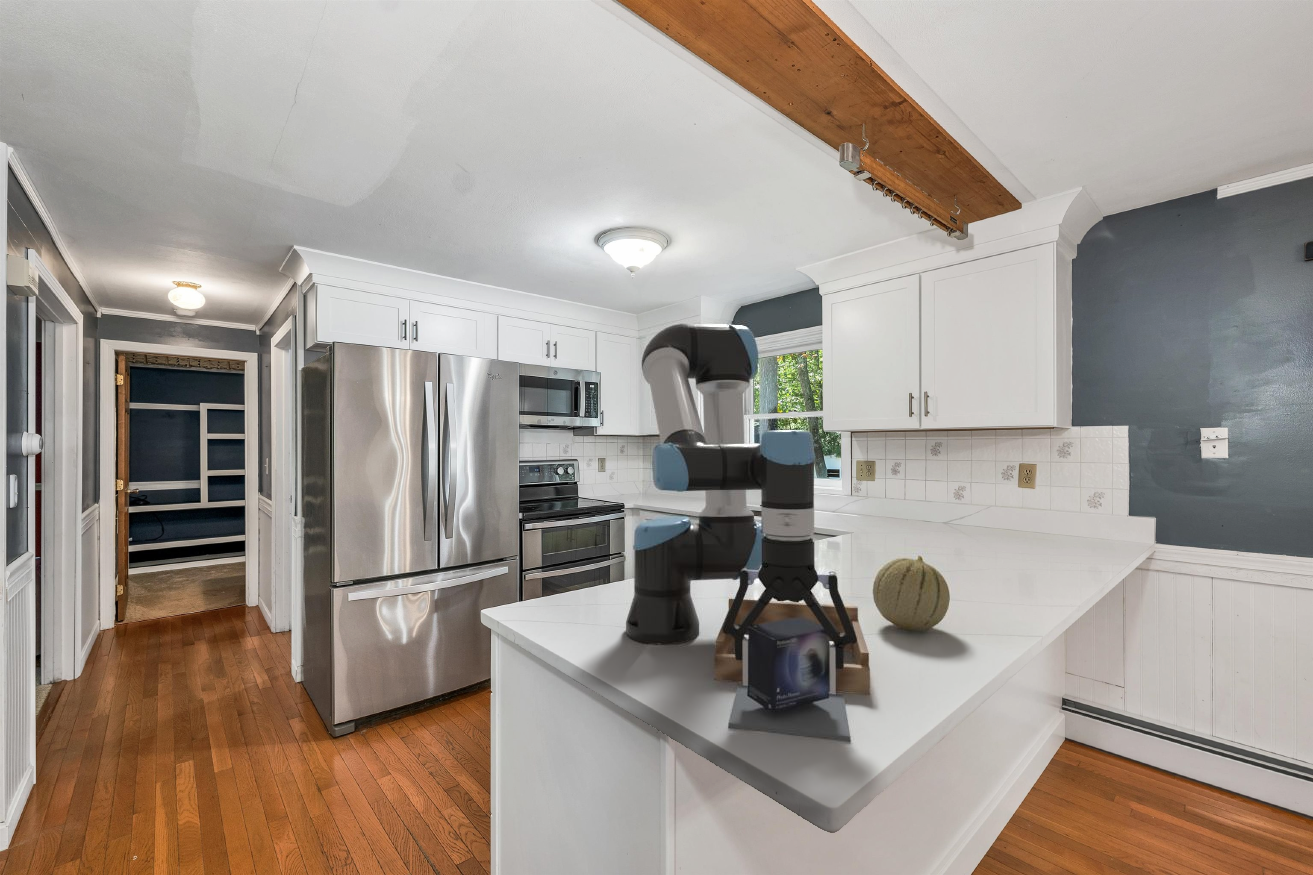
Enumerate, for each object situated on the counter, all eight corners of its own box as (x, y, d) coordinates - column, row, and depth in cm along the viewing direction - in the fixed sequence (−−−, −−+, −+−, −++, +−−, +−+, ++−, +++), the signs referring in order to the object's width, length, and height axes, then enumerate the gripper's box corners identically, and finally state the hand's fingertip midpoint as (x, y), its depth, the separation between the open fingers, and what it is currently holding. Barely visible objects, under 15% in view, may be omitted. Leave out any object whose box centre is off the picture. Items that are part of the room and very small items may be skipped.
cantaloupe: (860, 628, 121) (860, 556, 121) (890, 613, 131) (890, 547, 131) (934, 646, 111) (933, 567, 111) (960, 628, 121) (960, 556, 121)
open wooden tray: (714, 679, 96) (714, 631, 96) (729, 638, 115) (729, 598, 115) (870, 694, 90) (869, 642, 90) (857, 648, 109) (857, 606, 110)
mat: (728, 727, 80) (728, 722, 80) (738, 687, 92) (738, 684, 92) (850, 741, 76) (850, 736, 76) (843, 698, 88) (843, 694, 88)
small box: (774, 715, 79) (773, 638, 79) (745, 696, 85) (745, 625, 85) (832, 699, 84) (831, 626, 84) (801, 682, 89) (800, 614, 90)
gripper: (702, 537, 83) (703, 688, 83) (878, 543, 78) (879, 706, 78) (710, 529, 91) (710, 668, 91) (871, 534, 85) (872, 683, 85)
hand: (788, 685), depth 84 cm, fingers closed on small box, 11 cm apart
